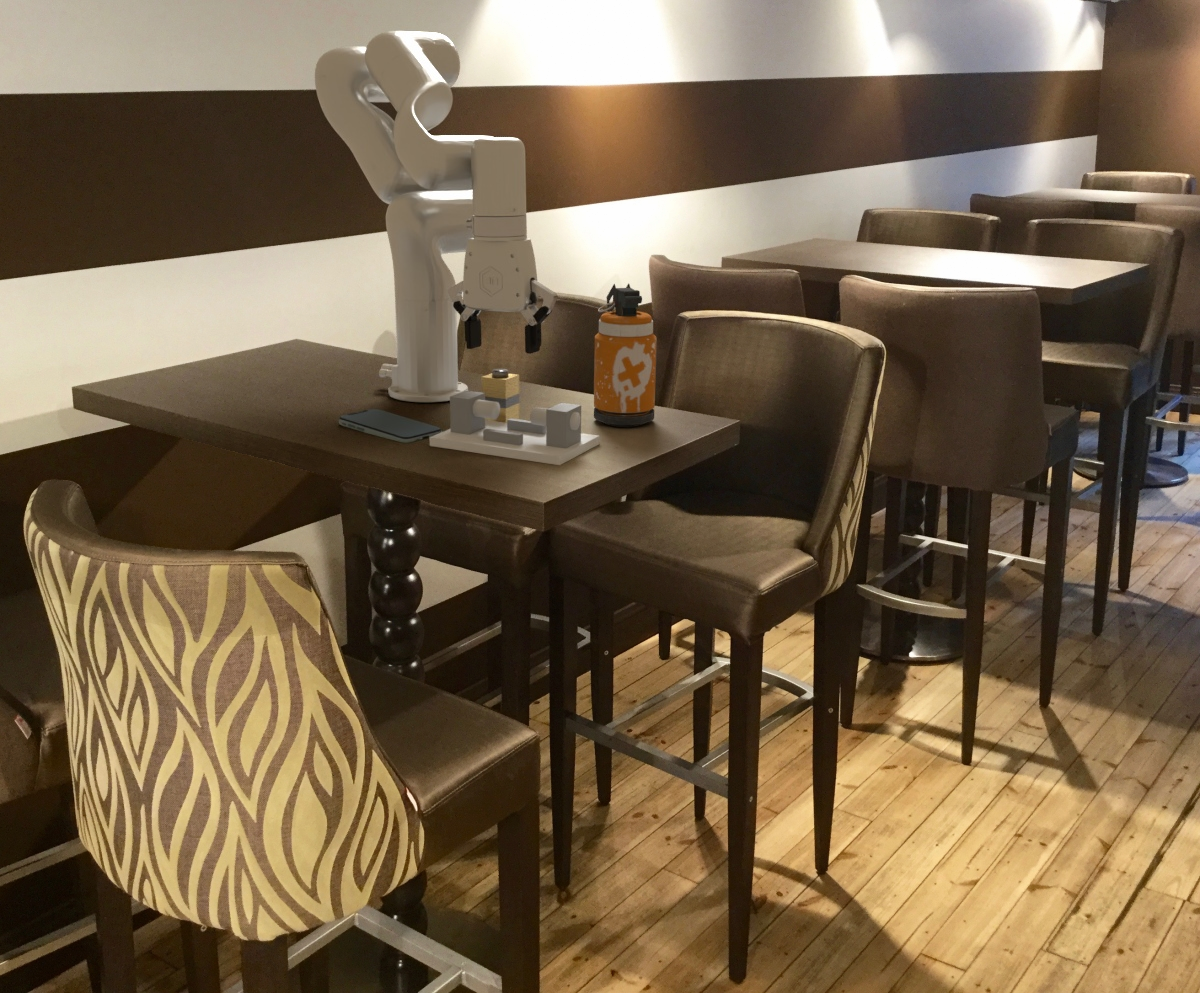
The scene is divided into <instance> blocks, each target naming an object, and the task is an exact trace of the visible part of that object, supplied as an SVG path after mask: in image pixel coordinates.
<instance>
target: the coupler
mask: <svg viewBox="0 0 1200 993" xmlns="http://www.w3.org/2000/svg"><path fill="white" fill-rule="evenodd" d="M509 372H510V371H509V369H507V368H494V369H492V370H491V373H489V374H486V375H483V376H481V378H480V379H481V380H480V381H481V382H480V383H481V393H485V400H486V401H494V402H498V403H499V405H500V414H499V416H498V418H497V419H489V418H485V420H489V421H496V422H503V423H507V420H508V419H510V418H512V419H520V374H515V373H509Z"/></svg>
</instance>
